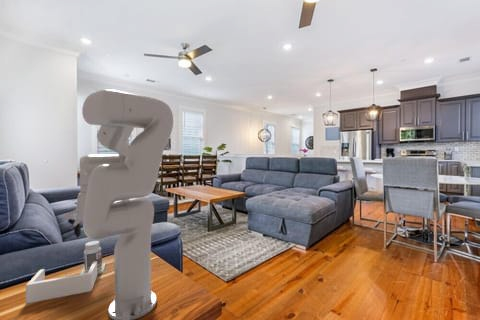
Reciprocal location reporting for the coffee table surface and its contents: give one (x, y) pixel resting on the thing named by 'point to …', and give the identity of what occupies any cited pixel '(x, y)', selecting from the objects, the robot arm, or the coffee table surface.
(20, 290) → the coffee table surface
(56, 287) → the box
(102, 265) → the tile
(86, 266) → the pill bottle
